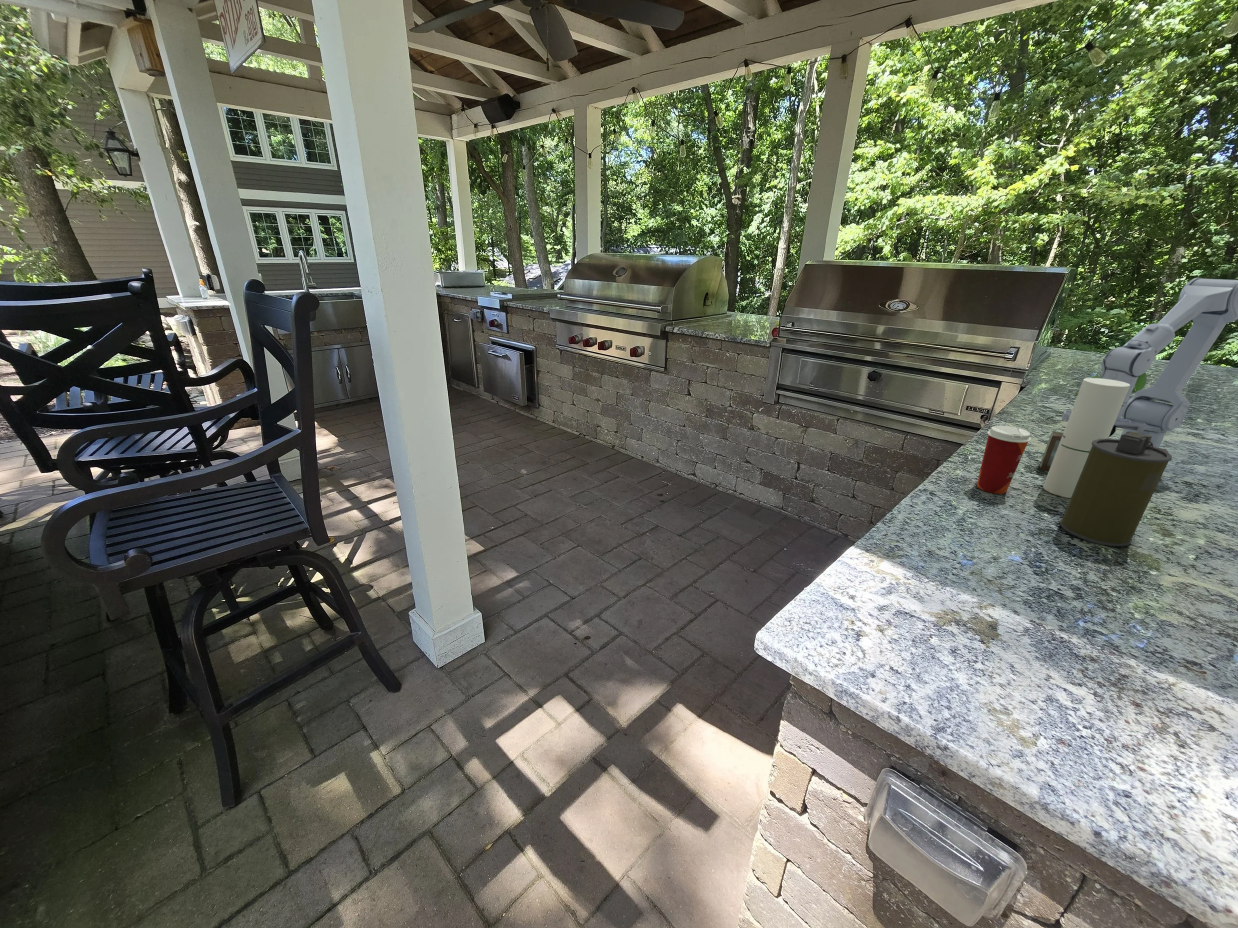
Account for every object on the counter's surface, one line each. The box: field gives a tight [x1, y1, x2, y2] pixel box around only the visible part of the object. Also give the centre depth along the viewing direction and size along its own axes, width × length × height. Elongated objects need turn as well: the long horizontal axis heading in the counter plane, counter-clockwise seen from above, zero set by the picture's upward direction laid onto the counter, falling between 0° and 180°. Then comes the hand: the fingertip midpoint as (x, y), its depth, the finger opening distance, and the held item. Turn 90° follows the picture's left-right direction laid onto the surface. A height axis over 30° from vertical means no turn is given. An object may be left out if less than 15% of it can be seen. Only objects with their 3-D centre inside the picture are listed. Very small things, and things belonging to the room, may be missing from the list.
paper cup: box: [976, 425, 1032, 495], centre depth 111 cm, size 8×8×14 cm
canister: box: [1059, 431, 1173, 548], centre depth 92 cm, size 11×10×20 cm
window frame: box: [1039, 430, 1169, 472], centre depth 117 cm, size 4×20×9 cm, turn 53°
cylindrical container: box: [1042, 377, 1130, 499], centre depth 107 cm, size 7×7×25 cm
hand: (1089, 453), depth 123 cm, fingers closed
